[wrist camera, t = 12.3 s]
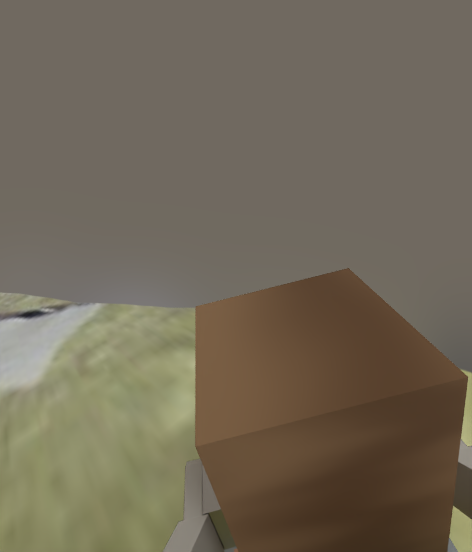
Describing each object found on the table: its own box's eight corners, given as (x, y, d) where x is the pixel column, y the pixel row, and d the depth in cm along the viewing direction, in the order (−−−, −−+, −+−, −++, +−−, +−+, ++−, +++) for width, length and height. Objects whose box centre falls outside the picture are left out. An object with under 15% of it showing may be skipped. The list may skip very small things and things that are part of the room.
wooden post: (297, 695, 10) (195, 447, 5) (268, 534, 14) (195, 306, 9) (434, 659, 10) (468, 377, 5) (366, 509, 14) (348, 268, 9)
